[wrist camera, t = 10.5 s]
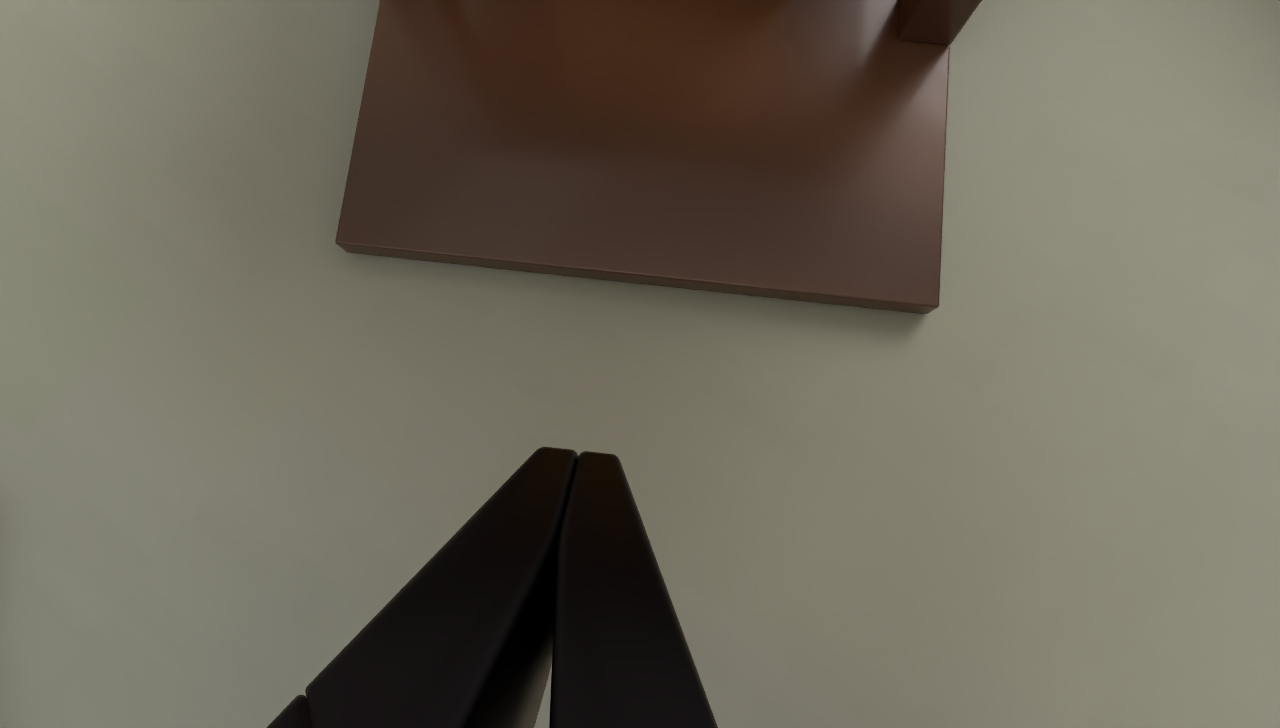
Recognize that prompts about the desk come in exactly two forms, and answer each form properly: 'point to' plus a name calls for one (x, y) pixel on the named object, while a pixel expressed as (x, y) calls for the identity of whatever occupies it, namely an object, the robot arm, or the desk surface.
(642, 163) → the shelf
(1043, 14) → the desk surface
